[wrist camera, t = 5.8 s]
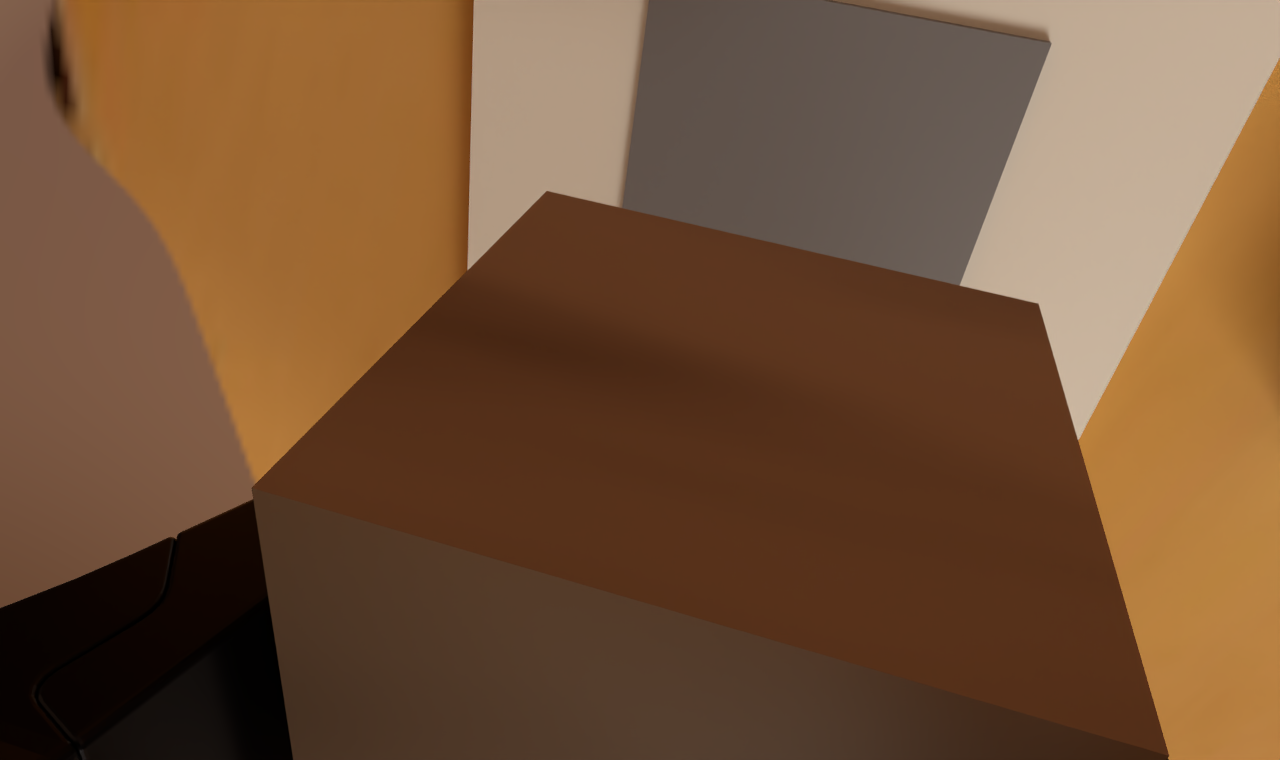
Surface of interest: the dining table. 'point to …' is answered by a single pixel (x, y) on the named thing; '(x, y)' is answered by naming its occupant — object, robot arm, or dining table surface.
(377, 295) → the dining table surface
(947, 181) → the white flat plate
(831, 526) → the walnut block
